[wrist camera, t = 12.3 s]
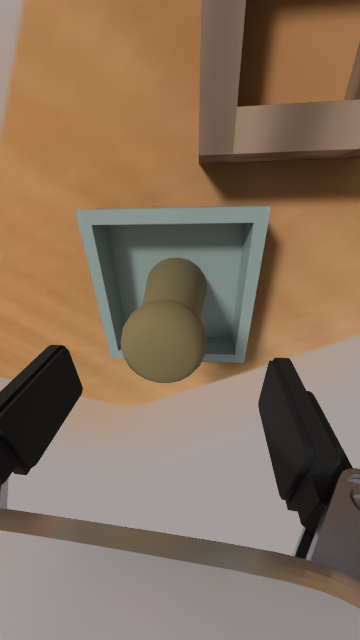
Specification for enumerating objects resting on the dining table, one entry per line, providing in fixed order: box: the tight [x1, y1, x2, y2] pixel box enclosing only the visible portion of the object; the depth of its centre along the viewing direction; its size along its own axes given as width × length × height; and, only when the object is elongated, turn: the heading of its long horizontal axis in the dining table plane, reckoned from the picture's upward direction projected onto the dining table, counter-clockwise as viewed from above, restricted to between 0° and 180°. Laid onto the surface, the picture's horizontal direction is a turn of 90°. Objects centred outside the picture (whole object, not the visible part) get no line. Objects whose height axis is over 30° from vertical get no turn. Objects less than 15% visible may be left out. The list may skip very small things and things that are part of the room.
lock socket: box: [199, 0, 360, 164], centre depth 12 cm, size 12×12×4 cm
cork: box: [120, 258, 207, 383], centre depth 16 cm, size 6×6×11 cm
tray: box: [75, 205, 271, 363], centre depth 20 cm, size 14×14×4 cm
